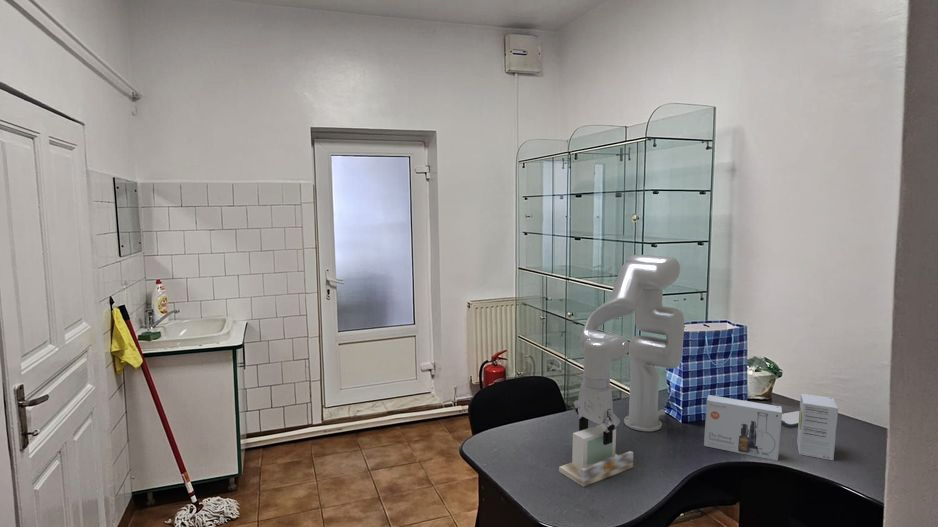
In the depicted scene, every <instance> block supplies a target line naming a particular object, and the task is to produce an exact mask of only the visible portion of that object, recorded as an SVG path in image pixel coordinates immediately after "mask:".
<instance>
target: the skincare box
mask: <svg viewBox="0 0 938 527" xmlns="http://www.w3.org/2000/svg"><path fill="white" fill-rule="evenodd" d="M705 408H706V409H705V421H704V422H705V424H704V435H703V436H704V439H703V446H704V447H706V448H707V447H708V448H711V449H717V450H723V451H728V452H732V453H736V454H741V455H747V456H751V457H752V456H753V457H758V458H763V459H767V460H772V461H777V462H778V461H779V452H780V442H781V430H782V425H781V420H782V414H783V408H782V406H781V405H775V404H774V405H773V404H767V403H760V402H757V401H755V402H754V401H750V400H749V401H748V400H742V399H737V398H730V397H724V396H723V397H722V396H718V395H713V394H712V395H711V394H708V395H707V398H706V407H705Z"/></svg>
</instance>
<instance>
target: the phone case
mask: <svg viewBox="0 0 938 527" xmlns="http://www.w3.org/2000/svg"><path fill="white" fill-rule="evenodd" d="M799 412H800V410H796V411H790V412H782V420H781V426H783V427H785V428H788V429H793V428H798V424H799Z"/></svg>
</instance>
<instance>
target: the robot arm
mask: <svg viewBox="0 0 938 527" xmlns="http://www.w3.org/2000/svg"><path fill="white" fill-rule="evenodd" d="M680 266H681V265H680V261H679V260H678V259H677V258H675V257H671V256H664V255H663V256H661V255H651V254H650V255H649V254H632V255H629V256H628V257H627V258H626V261H625V263H624V264H622V265H621V267H620V269H619V272H618V275H617V277H616V280H615V283H614V286H613V289H612V291H611V294H610V297H609V299H608V300H607V301H605V302H604V303H602V304H601V305H600V306H598V307H597V308H596V309H594V311H592V313H591V314H589V316H588V317H587V319H586V321H585V323H584V325H583V328H582V330H581V331H582V332H581V335H580V339H579V348H580V350H581V351H582V353H583V373H582V374H581V376H582V377H583V378H582V382H581V383H580V387H579V392H578V399H577V400H574V401H573V405H574V408H575V412H576V414H577V419H579V420H578V423H579V424H578V431H581V430H585V429H588V428H589V421H590V422H592V423H595V424H597V425H601V424H602V425H603V427H604V429H605V431H604V432H603V444H604V445H607V444H610V443H612V440H613V430H615V429H616V430H617V429H618V426H619V424H620V423H621V420H620V418H619V417H618V416H617V415H616V414H615V413H614V408H613V407H614V404H613V403H614V402H613V401H614V400H613V395H612V389H611V386H610V385H611V384H610V383H611V362H615V361H620V360H623V359H624V358H625V357H626V356H627V355H628V356H629V364H630V365H629V367H630V371H629V372H630V373H629V374H630V375H629V377H630V378H629V396H628V397H629V399H628V400H629V404H628V408H629V409H628V415H627V416H625V417H624V418H623V423H624V424H625V426H626V427H627V428H629V429H632V430H635V431H640V432H649V433H650V432H656V431H659V430H660V429H661V428H662V427H663V425H662V423H663V422H662V421H661V420H660V419H659V418H660V417H661V416H664V415H666V411H665V409H664V408H662V409H658V408H659V389H660V386H659V385H660V378H659V377H660V376H659V373H658V371H657V368H656V367H660V368H666V369H672V370H673V369H677V368H678V367H680V365H681V363H682V360H683V352H684V351H683V350H684V337H685V336H684V335H685V334H684V333H685V316H684V313H683V312H682V311H681V309H678V308H676V307H671V306H670V307H669V306H663V305H664V304H663V294H664V293H663V290H665V289H667V288H668V287H669V286H671V285H673V284H674V283H675V282H676V281H677V280H678V279H679V276H680V272H681V267H680ZM634 313H635V316H634V323H635V324H634V326H635V327H636V329H637V330H638V331H641V332H644V333H649V334H655V335H662V336H665V337H666V338H661V337H655V336H649V335H641V334H640V335H635V336H633V337H631V339H630V340H628V338H626V337H625V336H624V335H621V334H618V333H612V332H606V331H599V329H600V328H601V327H602V325H605V323H607V322H609V321H611V320H615V319H618V318H622V317H626V316H629V315H631V314H634ZM607 424H608V425H609V427H608V426H607Z"/></svg>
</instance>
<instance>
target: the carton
mask: <svg viewBox="0 0 938 527" xmlns="http://www.w3.org/2000/svg"><path fill="white" fill-rule="evenodd" d="M606 424H607V426H608V427H609V425H608V423H606ZM604 431H605V429H604V427H603V425H602V424H601V425H600V424H597V425H595V426H592V427H588V429H585V430H581V431H579V430H578V431H575V432H573V433H572V452H571V455H572V457H571V458H572V459H571V462H572V466H573V467H575V468H577V469H578V470H580V471H581V469H582V468H585V467H588V466H590V465H593V464H596V463H598V462H601V461H604V460H607V459H609V458H612V457H615V454H616V443H617V439H616V438H617V428H616V429H615V430H613V440H612V443H610V444H607V445H604V444H603V432H604Z"/></svg>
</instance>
